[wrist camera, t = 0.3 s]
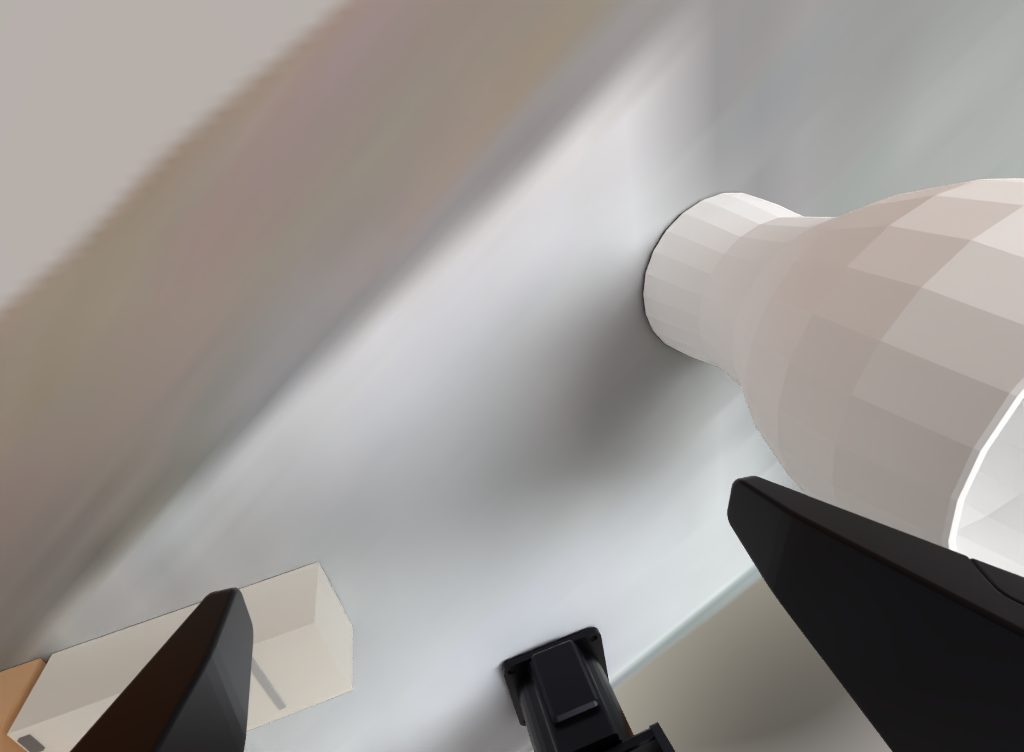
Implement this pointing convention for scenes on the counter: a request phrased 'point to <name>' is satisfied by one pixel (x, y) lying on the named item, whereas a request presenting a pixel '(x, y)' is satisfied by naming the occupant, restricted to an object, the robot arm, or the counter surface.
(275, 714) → the white slotted tower
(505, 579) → the counter surface
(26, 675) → the light brown cardboard box
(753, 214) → the cup
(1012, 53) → the counter surface
